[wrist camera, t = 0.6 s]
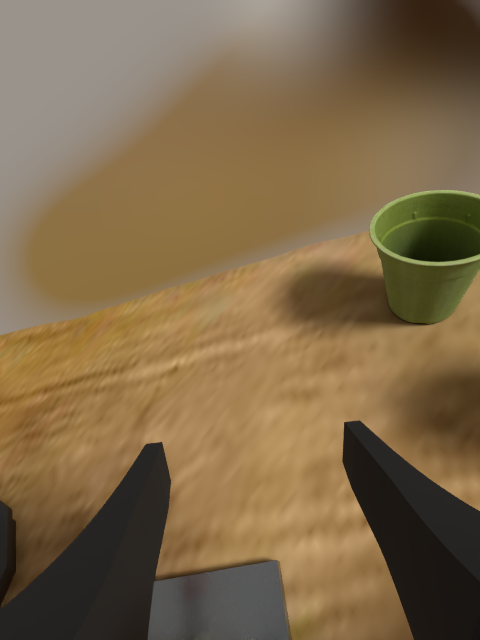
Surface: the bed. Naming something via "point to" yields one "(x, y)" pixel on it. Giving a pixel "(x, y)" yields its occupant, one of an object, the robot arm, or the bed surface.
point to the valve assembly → (221, 605)
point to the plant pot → (428, 252)
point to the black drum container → (7, 549)
